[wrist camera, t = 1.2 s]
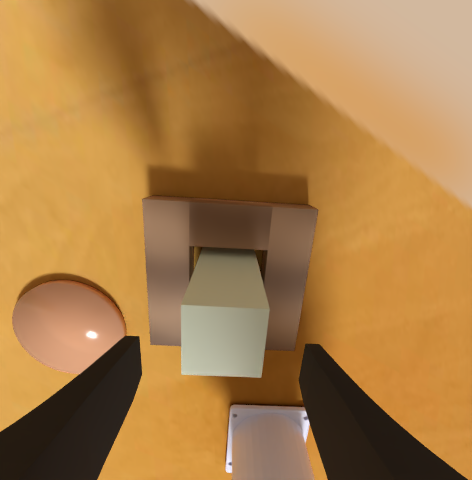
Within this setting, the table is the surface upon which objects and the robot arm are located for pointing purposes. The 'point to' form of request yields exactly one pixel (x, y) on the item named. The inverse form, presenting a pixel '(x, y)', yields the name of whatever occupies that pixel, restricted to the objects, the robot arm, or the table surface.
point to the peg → (224, 315)
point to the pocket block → (226, 236)
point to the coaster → (67, 324)
